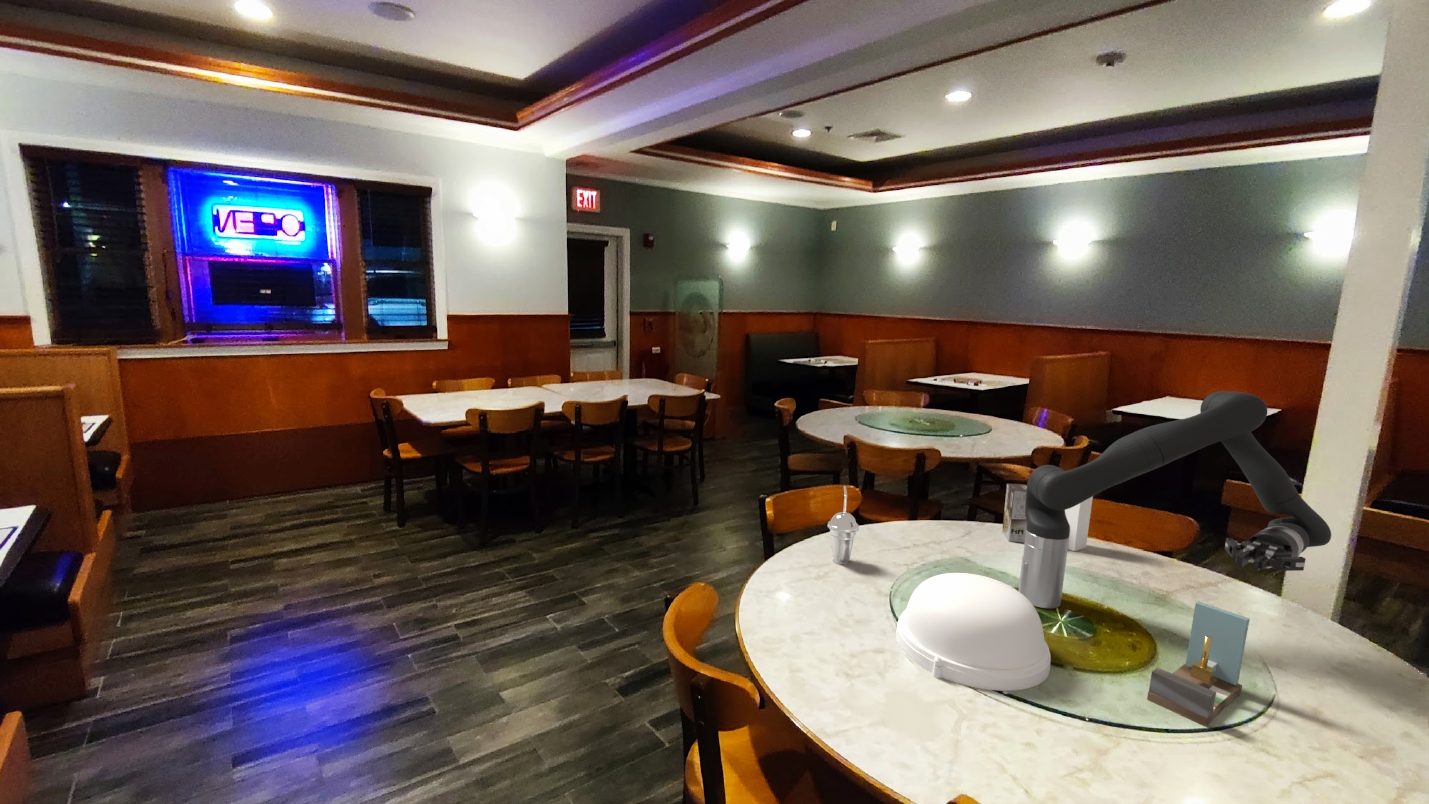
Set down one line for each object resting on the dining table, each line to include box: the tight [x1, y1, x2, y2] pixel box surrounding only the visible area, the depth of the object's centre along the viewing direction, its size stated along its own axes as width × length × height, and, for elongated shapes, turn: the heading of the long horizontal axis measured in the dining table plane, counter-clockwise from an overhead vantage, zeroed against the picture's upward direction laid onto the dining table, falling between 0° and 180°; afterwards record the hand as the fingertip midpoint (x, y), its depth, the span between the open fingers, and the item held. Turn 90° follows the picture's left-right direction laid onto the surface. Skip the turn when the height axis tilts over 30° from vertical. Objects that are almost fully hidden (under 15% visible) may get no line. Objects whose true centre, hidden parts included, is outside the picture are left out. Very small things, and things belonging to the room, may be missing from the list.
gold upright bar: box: [1190, 635, 1215, 684], centre depth 120 cm, size 2×3×8 cm, turn 35°
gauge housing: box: [1146, 662, 1243, 727], centre depth 119 cm, size 18×9×6 cm, turn 125°
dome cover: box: [895, 572, 1052, 692], centre depth 133 cm, size 32×30×14 cm
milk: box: [1065, 496, 1094, 552], centre depth 191 cm, size 6×6×22 cm
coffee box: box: [1001, 483, 1027, 544], centre depth 198 cm, size 9×6×16 cm
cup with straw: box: [826, 485, 860, 565], centre depth 175 cm, size 8×9×20 cm
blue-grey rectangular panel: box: [1185, 601, 1250, 685], centre depth 122 cm, size 4×8×13 cm, turn 35°
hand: (1248, 562), depth 127 cm, fingers closed
